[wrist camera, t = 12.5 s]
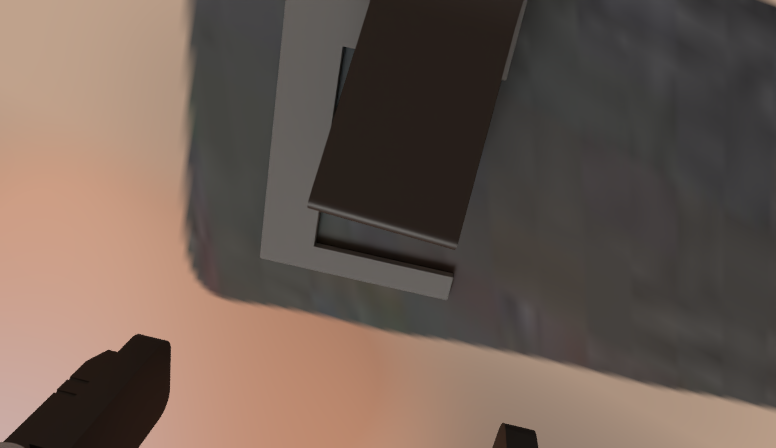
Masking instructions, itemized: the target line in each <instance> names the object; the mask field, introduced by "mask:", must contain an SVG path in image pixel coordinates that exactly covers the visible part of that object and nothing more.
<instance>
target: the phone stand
mask: <svg viewBox="0 0 776 448" xmlns="http://www.w3.org/2000/svg"><path fill="white" fill-rule="evenodd" d="M523 1H524V0H370V3H369V6H368V9H367V12H366V16H365V19H364V22H363V25H362V29H361V32H360V35H359V38H358V41H357V45H356V48H355V51H354V54H353V58H352V61H351V64H350V67H349V71H348V74H347V77H346V80H345V83H344V87H343V90H342V93H341V96H340V100H339V103H338V106H337V109H336V113H335V116H334V119H333V122H332V125H331V129H330V132H329V135H328V138H327V142H326V145H325V148H324V151H323V155H322V158H321V161H320V164H319V167H318V171H317V174H316V177H315V180H314V184H313V187H312V190H311V193H310V197H309V200H308V205H307V208H309V209H313V210H316V211H320V212H323V213H327V214H330V215H334V216H337V217H341V218H344V219H348V220H351V221H355V222H358V223H362V224H366V225H369V226H373V227H376V228H380V229H383V230H387V231H390V232H394V233H397V234H401V235H404V236H408V237H411V238H415V239H418V240H422V241H425V242H429V243H432V244H436V245H439V246H443V247H446V248H450V249H453V250H455V249H456V247H457V244H458V241H459V237H460V233H461V230H462V226H463V222H464V218H465V215H466V211H467V207H468V203H469V200H470V196H471V192H472V188H473V185H474V181H475V177H476V173H477V170H478V166H479V162H480V158H481V155H482V151H483V147H484V143H485V140H486V136H487V132H488V128H489V125H490V121H491V117H492V113H493V110H494V106H495V102H496V98H497V95H498V91H499V87H500V83H501V80H502V76H503V72H504V68H505V65H506V61H507V57H508V53H509V50H510V46H511V42H512V38H513V35H514V31H515V27H516V24H517V21H518V17H519V14H520V11H521V7H522V4H523Z"/></svg>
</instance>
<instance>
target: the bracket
mask: <svg viewBox="0 0 776 448" xmlns="http://www.w3.org/2000/svg"><path fill="white" fill-rule="evenodd" d="M527 1H528V0H524V1H523V4H522V7H521V11H520V14H519V17H518V21H517V24H516V27H515V31H514V35H513V38H512V42H511V46H510V50H509V53H508V57H507V61H506V65H505V68H504V72H503V76H502V80H505V81H506V79H507V75H508V72H509V68H510V64H511V60H512V57H513V53H514V49H515V46H516V42H517V38H518V34H519V31H520V27H521V23H522V20H523V16H524V12H525V8H526V5H527ZM369 3H370V0H286V2H285V12H284V22H283V32H282V42H281V52H280V62H279V72H278V82H277V92H276V102H275V112H274V122H273V132H272V141H271V151H270V161H269V171H268V181H267V191H266V201H265V211H264V221H263V231H262V241H261V251H260V258H262V259H267V260H271V261H276V262H280V263H284V264H289V265H293V266H298V267H302V268H306V269H311V270H315V271H320V272H324V273H329V274H333V275H337V276H342V277H346V278H351V279H355V280H360V281H364V282H368V283H373V284H377V285H382V286H386V287H391V288H395V289H399V290H404V291H408V292H413V293H417V294H421V295H426V296H430V297H435V298H439V299H444V300H447V299H448V295H449V291H450V287H451V284H452V280H453V273H449V272H444V271H440V270H436V269H431V268H427V267H422V266H418V265H413V264H409V263H404V262H400V261H395V260H391V259H386V258H382V257H378V256H373V255H369V254H364V253H360V252H355V251H351V250H346V249H342V248H337V247H333V246H328V245H324V244H320V243H316V238H317V231H318V224H319V217H320V211H316V210H313V209H309V208H307V205H308V200H309V197H310V193H311V190H312V187H313V184H314V180H315V177H316V174H317V171H318V167H319V164H320V161H321V158H322V155H323V151H324V148H325V145H326V142H327V138H328V135H329V132H330V129H331V125H332V122H333V119H334V115H335V108H336V101H337V94H338V88H339V81H340V74H341V67H342V60H343V53H344V47H348V48H352V49H355V48H356V45H357V41H358V38H359V35H360V32H361V29H362V25H363V22H364V19H365V16H366V12H367V9H368V6H369Z"/></svg>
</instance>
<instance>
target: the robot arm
mask: <svg viewBox="0 0 776 448" xmlns="http://www.w3.org/2000/svg"><path fill="white" fill-rule="evenodd" d="M170 357H171V346H170V343H169V342H168V341H165V340H161V339H157V338H153V337H149V336H144V335H141V334H137V335H135V336H133V337H132V338H131V339H130V340H129V341H128V342H127V343H126V344H125V345H124V346H123V348H121V349H120V350H119V351H118V352H115V351H111V350H107V351H105V352H103V353H101V354H99V355H97V356H95V357H93V358H91V359H90V360H88V361H86V362H85V363H84V364H83V365H82V366H81V367H80V368H79V369H78V370H77V371H76V372H75V373H74V374H73V375H72V376H71V377H70V379H69V380H66V382H64V383H63V384H62V385H61V386H60V387H59V388H58V389H57V392H56V393H53V394H52V395H51V396H50V397H49V398H48V399H47V400H46V401H45V402H44V403H43V404H42V405H41V406H40V407H39V408H38V409H37V410H36V411H35V412H34V413H33V414H32V415H30V416H29V417H28V418H27V420H25V421H24V422H23V423H22V424H21V425H20V426H19V427H18V428H17V429H16V430H15V431H14V432H13V433H12V434H11V435H10V436H9V437H8V438H7V439H6V440H5V441H4V442H0V448H139V446H140V445H141V443H142V442H143V441H144V439H145V438H146V437H147V435H148V434H149V432H150V431H151V430H152V428H153V427H154V425H155V424H156V423H157V421H158V420H159V418H160V417H161V415H162V414H163V411H164V410H165V407H166V405H167V401H168V398H169V393H170V361H171V358H170ZM493 448H538V443H537V437H536V433H535V431H534V430H530V429H526V428H522V427H517V426H514V425H509V424H505V423H502V424H501V426H500V428H499V431H498V433H497V436H496V439H495V442H494V445H493Z"/></svg>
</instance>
